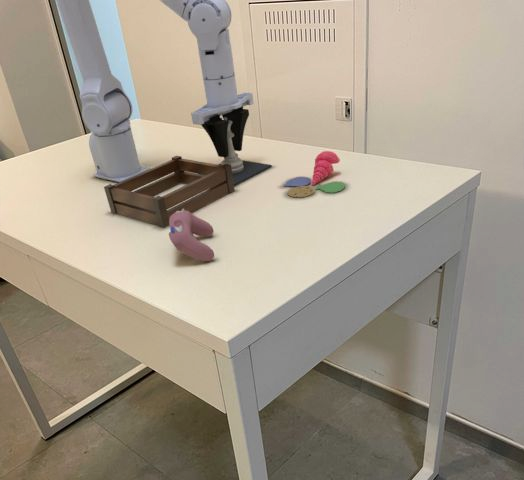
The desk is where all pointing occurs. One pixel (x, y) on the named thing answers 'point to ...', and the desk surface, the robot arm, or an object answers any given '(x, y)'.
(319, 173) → the toy pieces
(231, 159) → the chess piece
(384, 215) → the desk surface
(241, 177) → the mat
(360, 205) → the desk surface
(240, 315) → the desk surface
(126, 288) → the desk surface
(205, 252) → the video game controller
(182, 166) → the crate
